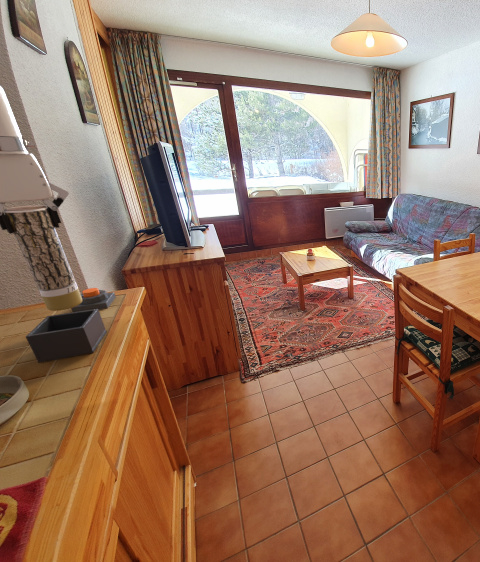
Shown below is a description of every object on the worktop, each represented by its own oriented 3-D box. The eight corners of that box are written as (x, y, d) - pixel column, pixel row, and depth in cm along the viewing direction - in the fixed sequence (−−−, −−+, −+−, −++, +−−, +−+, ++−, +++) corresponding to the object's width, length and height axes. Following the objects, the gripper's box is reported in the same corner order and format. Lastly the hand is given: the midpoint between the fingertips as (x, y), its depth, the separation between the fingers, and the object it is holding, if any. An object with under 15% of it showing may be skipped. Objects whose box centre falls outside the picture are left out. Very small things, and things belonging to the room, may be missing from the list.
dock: (38, 363, 68) (25, 336, 65) (58, 340, 76) (47, 315, 73) (93, 352, 71) (83, 327, 69) (106, 332, 79) (98, 308, 77)
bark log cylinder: (46, 314, 75) (-1, 211, 66) (49, 304, 80) (6, 207, 70) (83, 306, 79) (44, 208, 70) (83, 297, 84) (48, 204, 74)
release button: (82, 299, 89) (79, 293, 89) (86, 294, 92) (84, 288, 92) (97, 297, 91) (95, 291, 90) (101, 292, 94) (99, 287, 93)
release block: (73, 313, 88) (68, 302, 87) (83, 301, 95) (79, 291, 93) (107, 308, 91) (104, 297, 90) (115, 297, 98) (112, 287, 96)
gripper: (51, 147, 74) (78, 221, 80) (-70, 145, 61) (-26, 234, 67) (60, 147, 70) (87, 225, 76) (-68, 145, 57) (-22, 239, 63)
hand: (34, 229), depth 72 cm, fingers closed on bark log cylinder, 6 cm apart
